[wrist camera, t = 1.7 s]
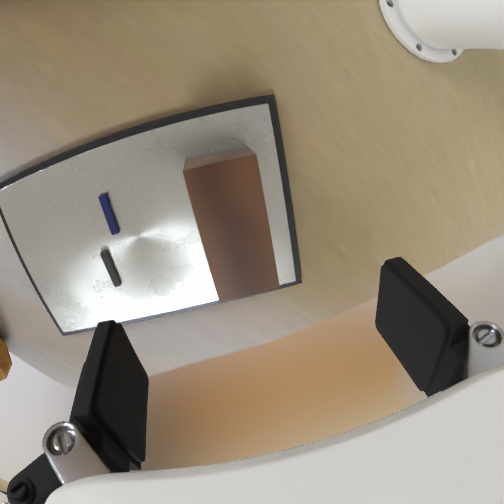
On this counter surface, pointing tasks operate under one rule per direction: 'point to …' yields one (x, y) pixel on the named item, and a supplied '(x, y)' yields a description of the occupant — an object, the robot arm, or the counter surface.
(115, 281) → the bar
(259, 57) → the counter surface
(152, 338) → the counter surface
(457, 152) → the counter surface
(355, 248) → the counter surface
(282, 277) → the whiteboard
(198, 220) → the eraser
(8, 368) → the potato
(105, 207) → the stroke navy
